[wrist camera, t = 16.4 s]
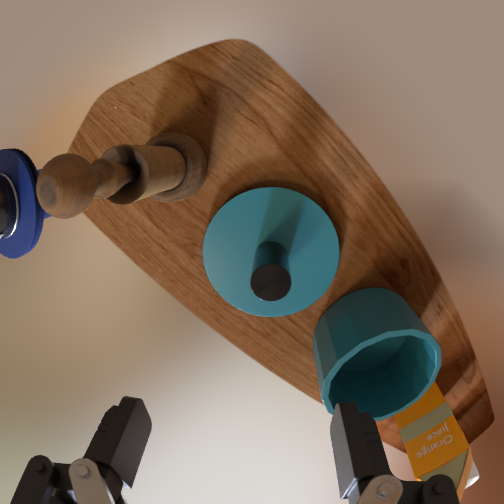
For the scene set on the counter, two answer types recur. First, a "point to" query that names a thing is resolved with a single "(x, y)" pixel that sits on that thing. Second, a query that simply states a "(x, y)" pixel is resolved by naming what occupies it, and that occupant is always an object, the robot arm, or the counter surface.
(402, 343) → the pot
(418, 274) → the counter surface
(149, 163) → the mortar and pestle
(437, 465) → the orange juice
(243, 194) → the lid
